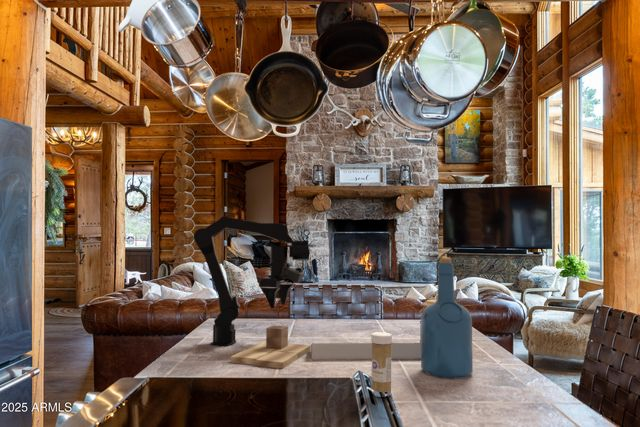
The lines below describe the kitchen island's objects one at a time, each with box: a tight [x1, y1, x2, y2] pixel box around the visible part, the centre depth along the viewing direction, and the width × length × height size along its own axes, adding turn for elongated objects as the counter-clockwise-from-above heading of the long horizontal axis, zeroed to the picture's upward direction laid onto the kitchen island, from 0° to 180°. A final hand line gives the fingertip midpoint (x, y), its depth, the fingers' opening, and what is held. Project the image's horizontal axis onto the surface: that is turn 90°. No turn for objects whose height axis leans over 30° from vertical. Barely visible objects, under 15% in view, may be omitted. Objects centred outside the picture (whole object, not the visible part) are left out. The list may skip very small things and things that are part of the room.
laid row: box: [255, 342, 311, 369], centre depth 134 cm, size 8×22×2 cm, turn 162°
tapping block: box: [265, 324, 289, 349], centre depth 140 cm, size 5×5×6 cm
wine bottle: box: [420, 257, 474, 380], centre depth 120 cm, size 14×13×30 cm
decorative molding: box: [310, 342, 421, 361], centre depth 138 cm, size 34×5×10 cm
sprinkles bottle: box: [370, 331, 393, 395], centre depth 102 cm, size 5×5×13 cm
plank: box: [230, 341, 275, 366], centre depth 136 cm, size 8×20×2 cm, turn 162°
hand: (278, 306), depth 155 cm, fingers open, 9 cm apart
